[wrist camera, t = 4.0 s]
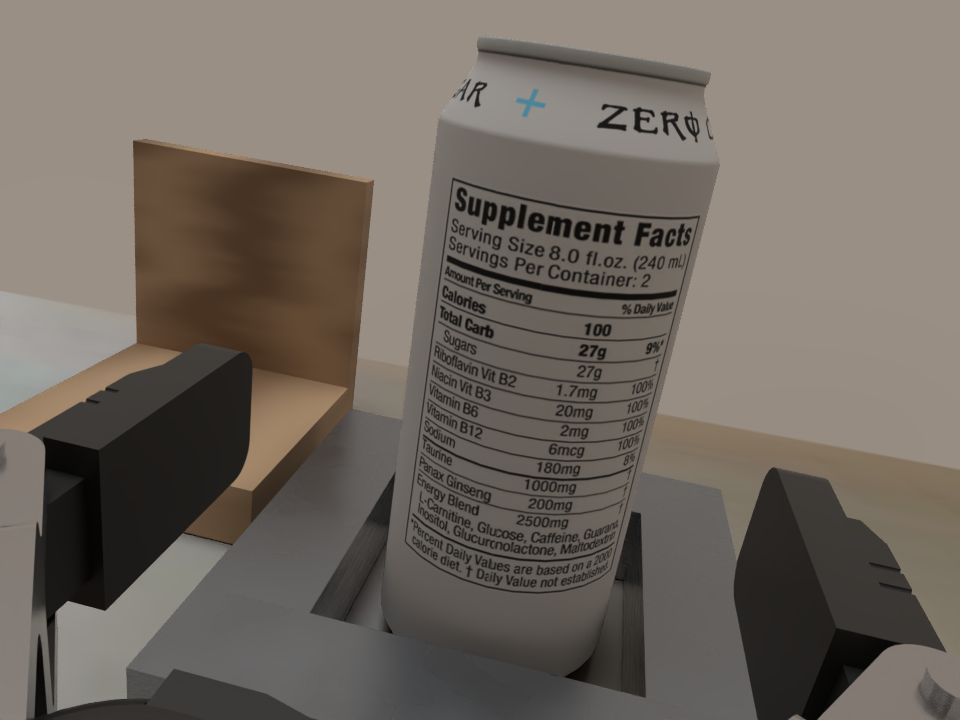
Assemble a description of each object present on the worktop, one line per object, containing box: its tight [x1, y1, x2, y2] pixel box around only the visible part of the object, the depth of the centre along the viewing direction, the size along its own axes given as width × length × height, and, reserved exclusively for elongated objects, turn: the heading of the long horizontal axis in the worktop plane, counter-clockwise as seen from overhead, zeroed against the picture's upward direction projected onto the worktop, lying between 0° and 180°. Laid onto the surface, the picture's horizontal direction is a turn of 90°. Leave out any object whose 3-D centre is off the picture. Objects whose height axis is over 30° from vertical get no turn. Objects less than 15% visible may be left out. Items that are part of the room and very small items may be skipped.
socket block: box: [126, 409, 758, 720], centre depth 21 cm, size 13×13×2 cm
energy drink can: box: [381, 36, 720, 677], centre depth 18 cm, size 6×6×15 cm
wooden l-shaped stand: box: [0, 139, 374, 544], centre depth 26 cm, size 9×9×10 cm
